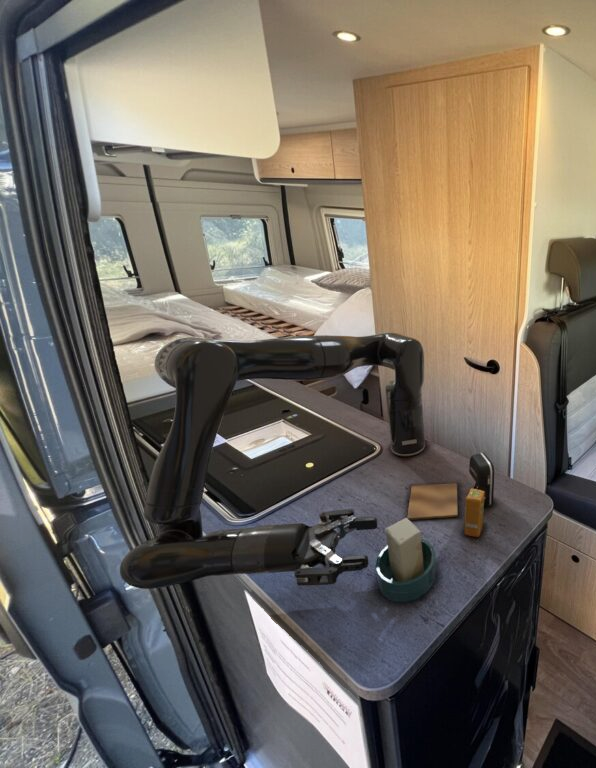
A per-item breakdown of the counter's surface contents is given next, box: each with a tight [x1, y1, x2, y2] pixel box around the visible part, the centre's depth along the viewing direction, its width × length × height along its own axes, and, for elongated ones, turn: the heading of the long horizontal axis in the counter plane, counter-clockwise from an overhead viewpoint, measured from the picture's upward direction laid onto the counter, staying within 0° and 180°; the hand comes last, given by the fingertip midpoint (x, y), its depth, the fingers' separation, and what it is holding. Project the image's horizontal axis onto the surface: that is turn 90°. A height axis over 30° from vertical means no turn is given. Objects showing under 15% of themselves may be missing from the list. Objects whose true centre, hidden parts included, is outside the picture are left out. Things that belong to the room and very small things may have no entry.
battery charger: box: [468, 452, 495, 507], centre depth 90 cm, size 7×4×11 cm, turn 28°
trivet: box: [406, 482, 459, 521], centre depth 91 cm, size 11×11×1 cm
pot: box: [375, 538, 437, 603], centre depth 71 cm, size 10×10×4 cm
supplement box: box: [464, 488, 485, 538], centre depth 81 cm, size 3×3×10 cm
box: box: [385, 517, 424, 582], centre depth 70 cm, size 5×4×11 cm
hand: (372, 541), depth 68 cm, fingers open, 8 cm apart
